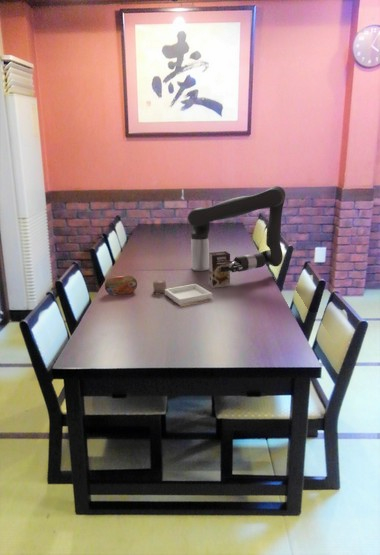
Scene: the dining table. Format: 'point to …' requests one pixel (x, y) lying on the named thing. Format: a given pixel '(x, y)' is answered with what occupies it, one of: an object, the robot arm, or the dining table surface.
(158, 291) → the rounded taupe cylinder
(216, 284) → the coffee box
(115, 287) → the tin
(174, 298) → the dish
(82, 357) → the dining table surface
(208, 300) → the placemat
